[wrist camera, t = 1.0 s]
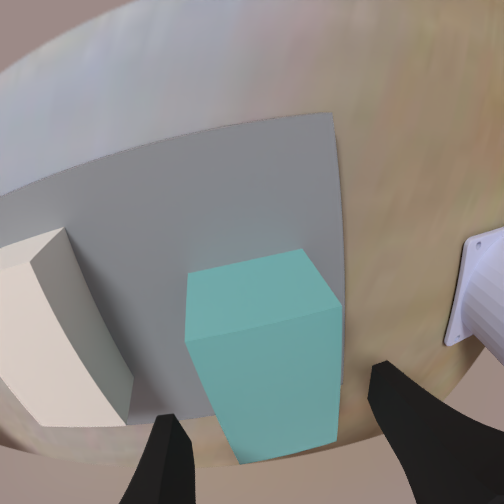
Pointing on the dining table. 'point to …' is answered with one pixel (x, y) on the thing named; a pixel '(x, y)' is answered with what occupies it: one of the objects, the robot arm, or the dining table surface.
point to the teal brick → (267, 353)
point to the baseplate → (152, 262)
